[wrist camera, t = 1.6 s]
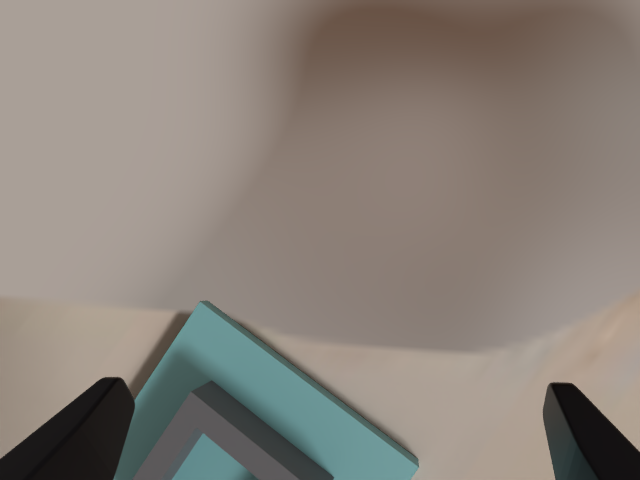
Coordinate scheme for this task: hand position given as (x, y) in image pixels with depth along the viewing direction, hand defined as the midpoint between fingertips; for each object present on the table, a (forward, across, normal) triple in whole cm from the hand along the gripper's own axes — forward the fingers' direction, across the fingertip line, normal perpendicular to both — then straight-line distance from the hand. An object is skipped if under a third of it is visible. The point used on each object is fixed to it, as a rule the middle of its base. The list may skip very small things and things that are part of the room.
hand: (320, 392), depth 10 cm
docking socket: (+6, +8, +16) cm, 19 cm away
